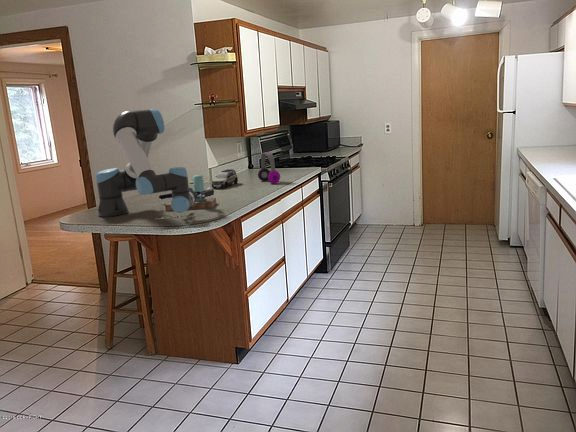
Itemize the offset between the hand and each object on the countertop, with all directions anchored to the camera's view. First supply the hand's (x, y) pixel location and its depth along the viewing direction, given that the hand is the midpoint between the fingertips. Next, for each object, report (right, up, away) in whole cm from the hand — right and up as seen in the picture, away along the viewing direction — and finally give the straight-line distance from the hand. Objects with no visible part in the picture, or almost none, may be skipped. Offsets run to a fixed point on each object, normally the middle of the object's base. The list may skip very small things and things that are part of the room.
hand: (196, 190), depth 251 cm
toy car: (+5, +7, +79) cm, 80 cm away
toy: (-12, -4, +38) cm, 40 cm away
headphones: (+34, +10, +82) cm, 89 cm away
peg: (+1, -8, +10) cm, 12 cm away
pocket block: (-4, -9, +10) cm, 14 cm away
